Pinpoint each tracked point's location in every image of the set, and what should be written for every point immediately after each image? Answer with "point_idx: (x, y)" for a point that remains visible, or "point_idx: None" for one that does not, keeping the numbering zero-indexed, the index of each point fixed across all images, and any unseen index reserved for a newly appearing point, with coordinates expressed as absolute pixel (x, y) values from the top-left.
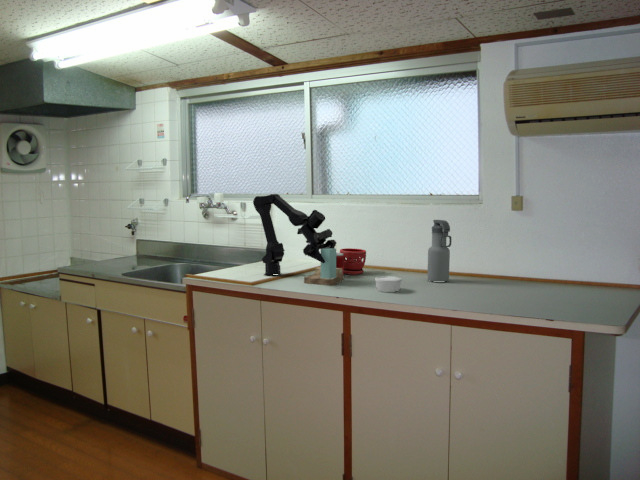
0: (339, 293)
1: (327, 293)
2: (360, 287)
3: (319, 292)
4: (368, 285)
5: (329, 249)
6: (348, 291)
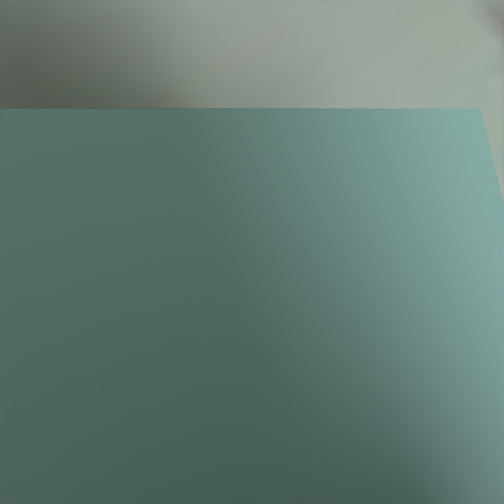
0: (420, 32)
1: (478, 93)
2: (147, 17)
3: (500, 153)
4: (22, 4)
5: (423, 170)
6: (330, 17)
